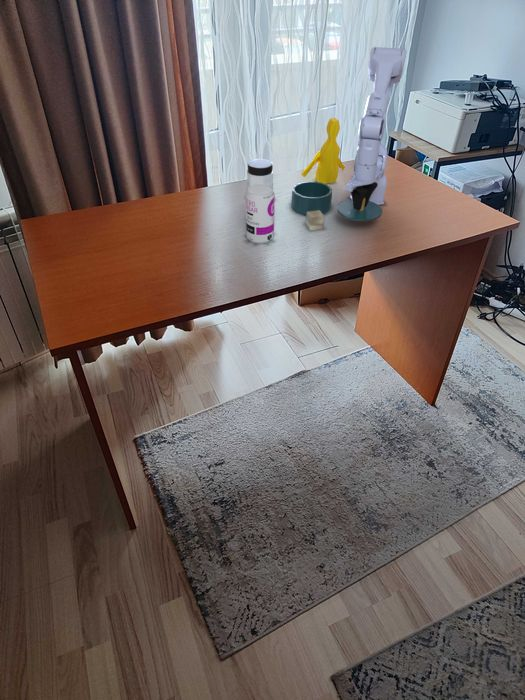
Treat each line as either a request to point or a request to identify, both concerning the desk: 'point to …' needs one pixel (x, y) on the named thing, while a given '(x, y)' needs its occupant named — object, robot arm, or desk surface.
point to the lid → (359, 211)
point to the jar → (260, 172)
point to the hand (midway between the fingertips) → (360, 207)
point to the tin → (311, 197)
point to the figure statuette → (327, 156)
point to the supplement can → (260, 213)
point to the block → (314, 220)
